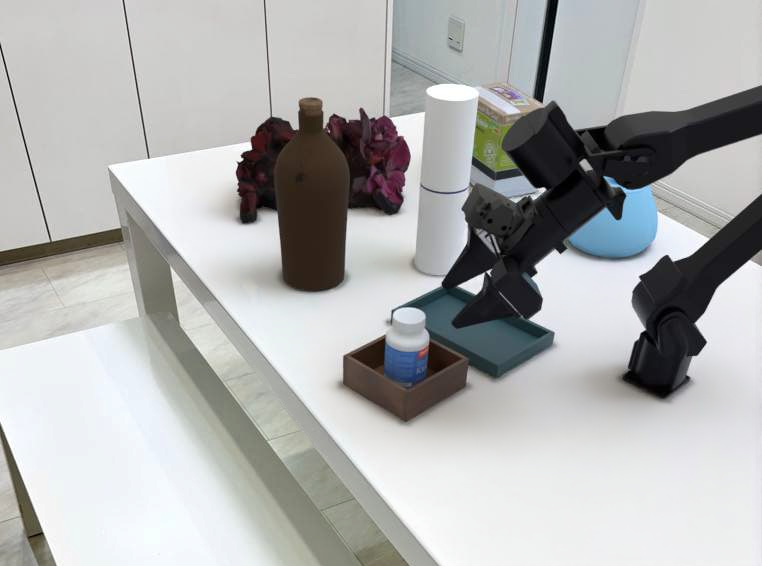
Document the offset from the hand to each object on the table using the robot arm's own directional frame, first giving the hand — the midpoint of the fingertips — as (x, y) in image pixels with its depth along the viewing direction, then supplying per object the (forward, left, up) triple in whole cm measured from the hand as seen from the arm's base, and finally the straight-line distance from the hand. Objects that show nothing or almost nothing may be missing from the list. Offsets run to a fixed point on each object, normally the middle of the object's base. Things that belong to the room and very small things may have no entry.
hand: (448, 305), depth 103 cm
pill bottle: (+3, +4, -11) cm, 12 cm away
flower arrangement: (+53, -27, -11) cm, 60 cm away
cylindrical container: (+23, -24, -11) cm, 35 cm away
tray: (+6, -12, -11) cm, 18 cm away
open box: (+3, +4, -11) cm, 12 cm away
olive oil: (+33, -7, -11) cm, 35 cm away
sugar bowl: (+10, -51, -11) cm, 54 cm away
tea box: (+38, -56, -11) cm, 69 cm away
